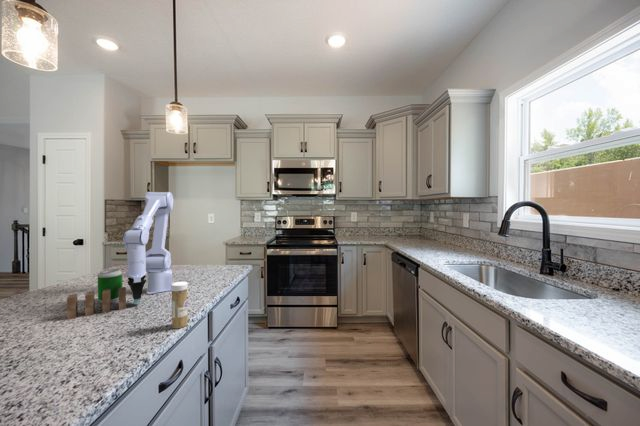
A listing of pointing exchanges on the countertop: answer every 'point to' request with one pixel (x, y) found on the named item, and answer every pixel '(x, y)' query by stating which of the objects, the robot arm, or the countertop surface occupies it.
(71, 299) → the domino
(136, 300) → the loose domino
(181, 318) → the sprinkles bottle
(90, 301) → the domino
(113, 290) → the soda can
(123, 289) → the domino
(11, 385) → the countertop surface
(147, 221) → the robot arm
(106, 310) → the domino
